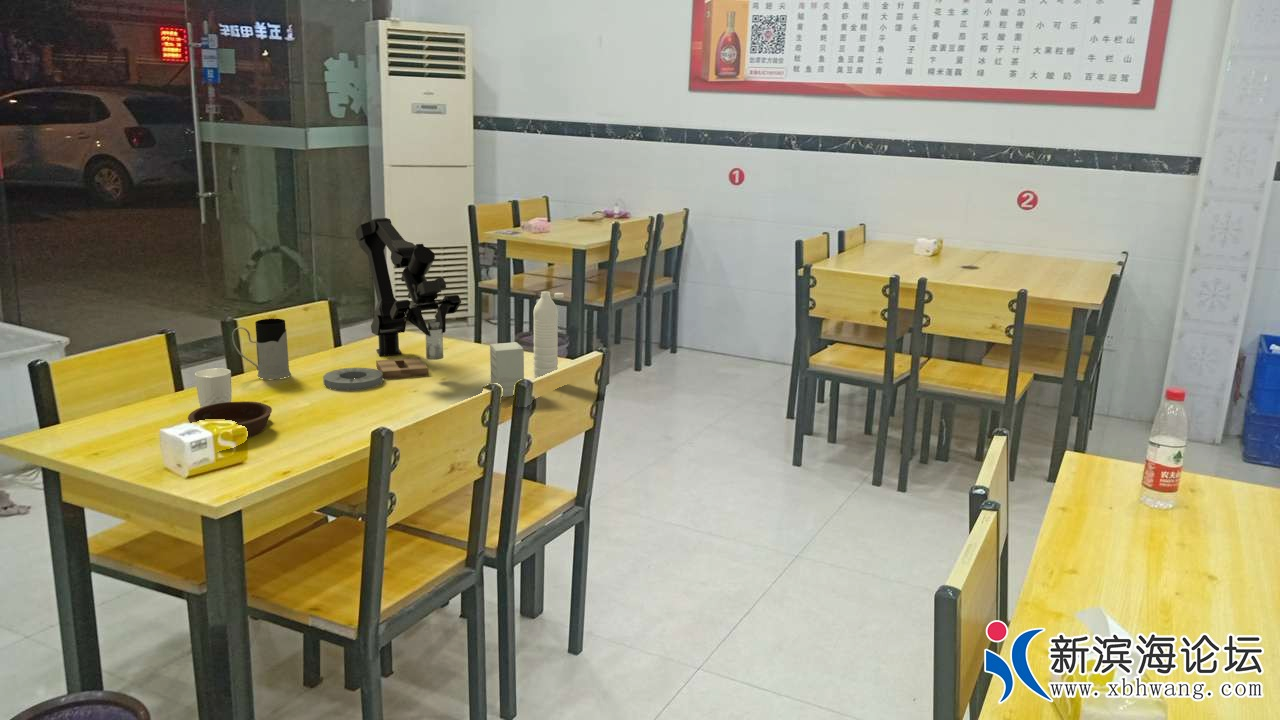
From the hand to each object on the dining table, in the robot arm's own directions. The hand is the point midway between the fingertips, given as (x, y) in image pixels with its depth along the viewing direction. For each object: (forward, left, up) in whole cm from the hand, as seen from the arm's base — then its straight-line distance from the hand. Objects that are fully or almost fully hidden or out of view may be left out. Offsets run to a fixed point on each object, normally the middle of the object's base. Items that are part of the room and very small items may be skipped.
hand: (436, 333), depth 272 cm
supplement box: (+18, +14, -13) cm, 26 cm away
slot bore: (-11, -8, -13) cm, 19 cm away
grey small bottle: (-1, 0, -7) cm, 7 cm away
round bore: (-4, -22, -13) cm, 25 cm away
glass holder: (-18, -43, -13) cm, 49 cm away
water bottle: (+13, +27, -13) cm, 33 cm away
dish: (+28, -53, -13) cm, 61 cm away
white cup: (+12, -56, -13) cm, 58 cm away
